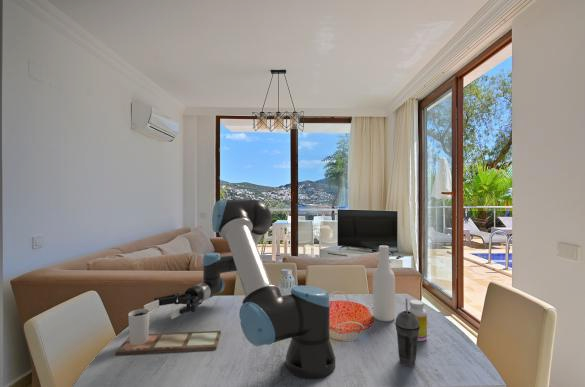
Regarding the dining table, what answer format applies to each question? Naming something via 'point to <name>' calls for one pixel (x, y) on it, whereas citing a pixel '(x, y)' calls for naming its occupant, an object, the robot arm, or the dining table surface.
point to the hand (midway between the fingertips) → (157, 312)
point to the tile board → (173, 343)
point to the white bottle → (383, 288)
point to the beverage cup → (407, 336)
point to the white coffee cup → (139, 326)
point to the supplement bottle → (419, 318)
